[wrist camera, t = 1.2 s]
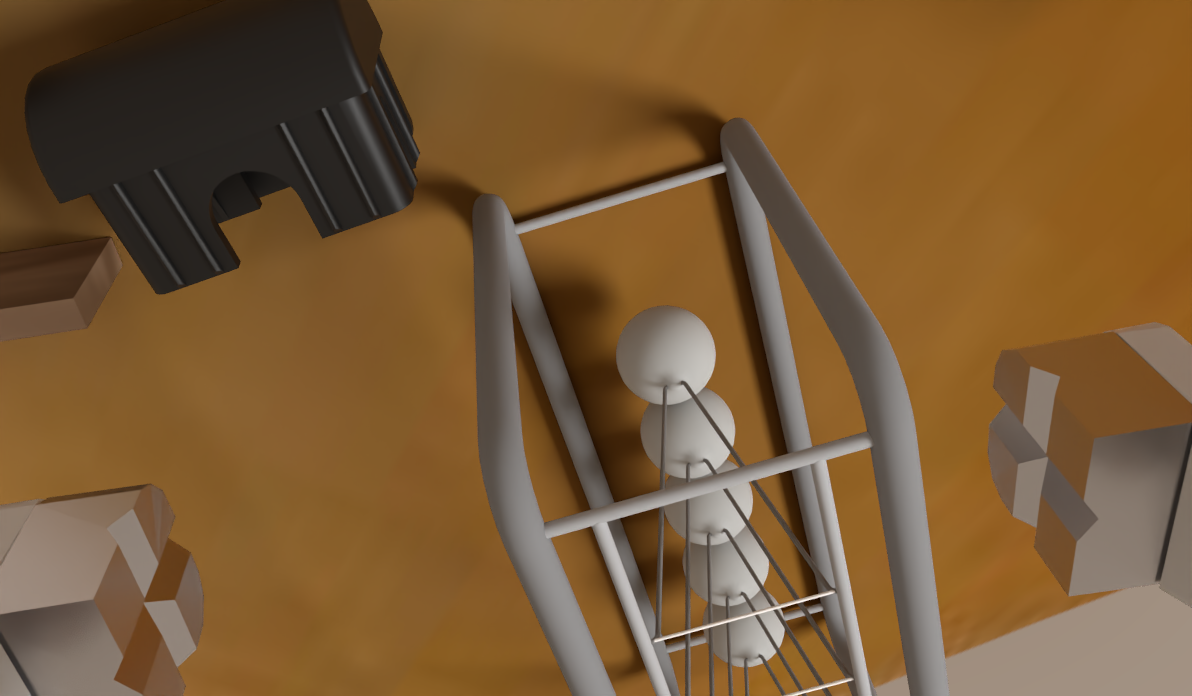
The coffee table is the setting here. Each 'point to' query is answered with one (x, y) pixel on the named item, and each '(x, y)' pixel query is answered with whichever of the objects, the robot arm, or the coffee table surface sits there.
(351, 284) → the coffee table surface
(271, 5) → the end cap
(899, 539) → the newton's cradle
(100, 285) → the walnut organizer
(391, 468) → the coffee table surface
